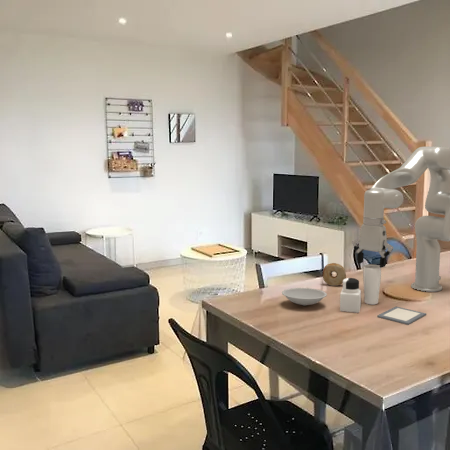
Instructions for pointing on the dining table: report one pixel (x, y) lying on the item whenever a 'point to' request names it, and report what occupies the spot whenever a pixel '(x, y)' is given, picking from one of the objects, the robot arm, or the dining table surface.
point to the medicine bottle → (350, 296)
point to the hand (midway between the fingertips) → (371, 264)
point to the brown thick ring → (331, 279)
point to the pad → (401, 315)
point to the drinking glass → (371, 283)
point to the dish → (304, 295)
